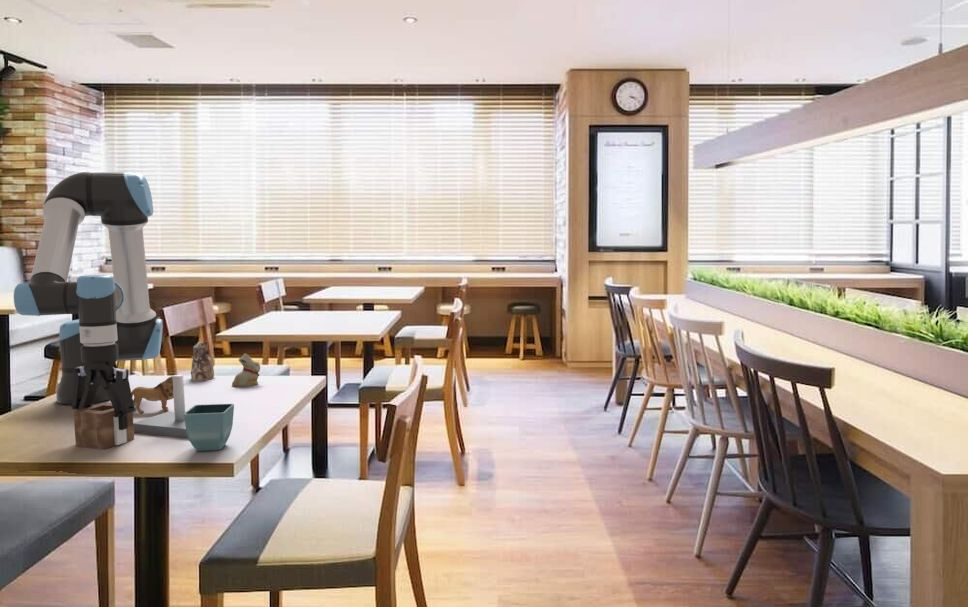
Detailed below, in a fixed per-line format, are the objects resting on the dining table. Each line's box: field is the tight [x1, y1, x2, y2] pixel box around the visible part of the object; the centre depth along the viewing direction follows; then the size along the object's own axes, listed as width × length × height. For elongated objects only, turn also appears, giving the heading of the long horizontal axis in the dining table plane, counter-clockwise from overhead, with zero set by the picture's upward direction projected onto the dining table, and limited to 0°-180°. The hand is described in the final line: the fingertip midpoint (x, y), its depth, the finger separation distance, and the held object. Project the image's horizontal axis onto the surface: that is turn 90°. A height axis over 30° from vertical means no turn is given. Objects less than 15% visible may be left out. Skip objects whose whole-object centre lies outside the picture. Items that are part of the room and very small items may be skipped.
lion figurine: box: [131, 375, 174, 414], centre depth 196 cm, size 15×5×9 cm, turn 112°
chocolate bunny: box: [231, 353, 261, 388], centre depth 228 cm, size 6×8×10 cm
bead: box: [73, 402, 135, 450], centre depth 168 cm, size 8×8×8 cm
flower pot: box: [183, 403, 235, 452], centre depth 163 cm, size 9×9×9 cm
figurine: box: [190, 340, 215, 381], centre depth 239 cm, size 7×7×12 cm
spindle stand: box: [133, 374, 188, 438], centre depth 179 cm, size 18×12×13 cm, turn 71°
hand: (105, 441), depth 168 cm, fingers open, 8 cm apart
